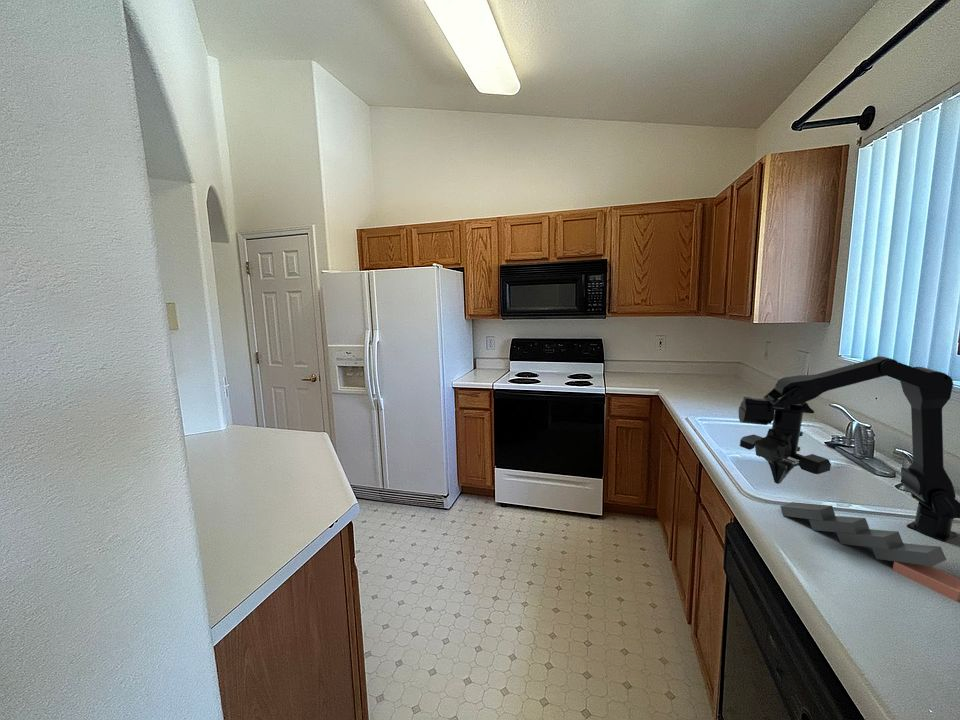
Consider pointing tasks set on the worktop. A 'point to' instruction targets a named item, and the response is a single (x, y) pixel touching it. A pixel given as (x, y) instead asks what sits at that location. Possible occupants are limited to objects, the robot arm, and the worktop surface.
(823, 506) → the domino
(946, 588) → the red domino
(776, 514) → the worktop surface
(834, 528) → the domino
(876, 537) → the domino
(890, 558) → the domino
